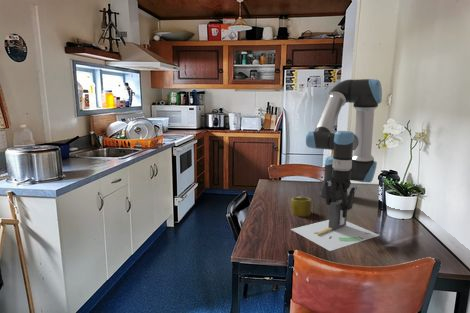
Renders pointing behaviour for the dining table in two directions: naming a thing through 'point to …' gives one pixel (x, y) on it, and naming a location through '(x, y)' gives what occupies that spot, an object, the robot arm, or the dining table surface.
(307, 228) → the board
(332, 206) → the gray bar
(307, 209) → the mug
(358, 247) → the dining table surface
